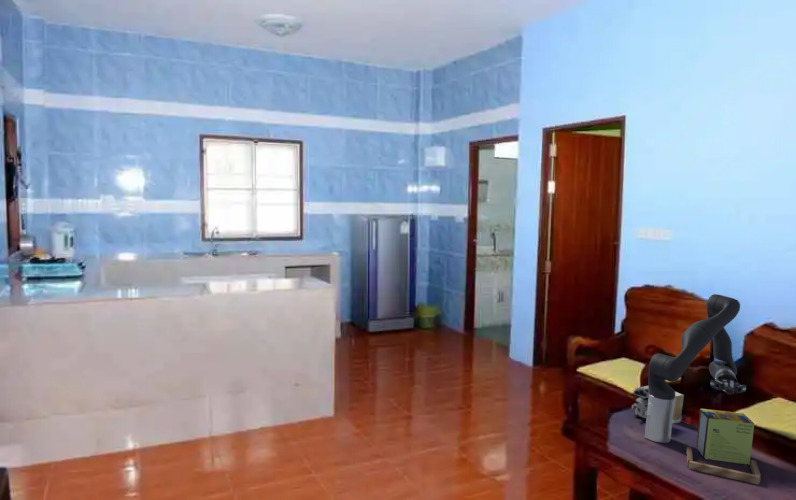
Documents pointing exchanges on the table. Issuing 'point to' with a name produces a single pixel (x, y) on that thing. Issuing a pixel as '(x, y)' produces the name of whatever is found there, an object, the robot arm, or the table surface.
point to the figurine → (641, 402)
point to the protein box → (725, 436)
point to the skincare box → (677, 407)
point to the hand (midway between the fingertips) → (730, 392)
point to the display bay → (725, 470)
